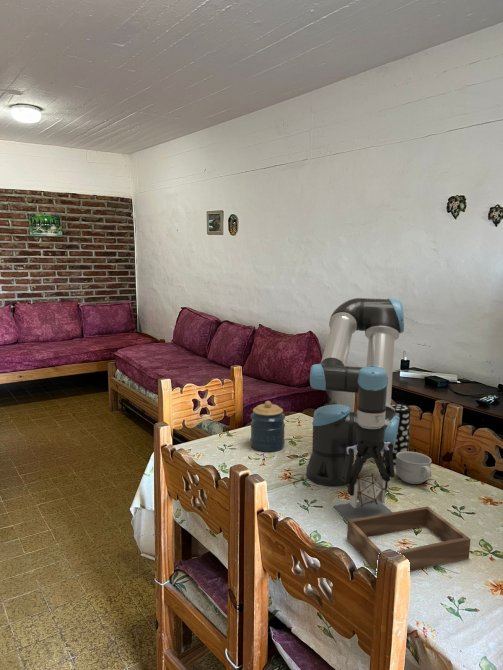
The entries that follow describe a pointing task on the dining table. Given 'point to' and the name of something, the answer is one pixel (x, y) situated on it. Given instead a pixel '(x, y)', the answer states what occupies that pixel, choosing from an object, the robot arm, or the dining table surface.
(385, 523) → the rectangular frame
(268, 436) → the canister
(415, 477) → the teacup
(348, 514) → the pad
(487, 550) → the dining table surface
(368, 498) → the game die
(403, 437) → the white-spotted black cylinder
